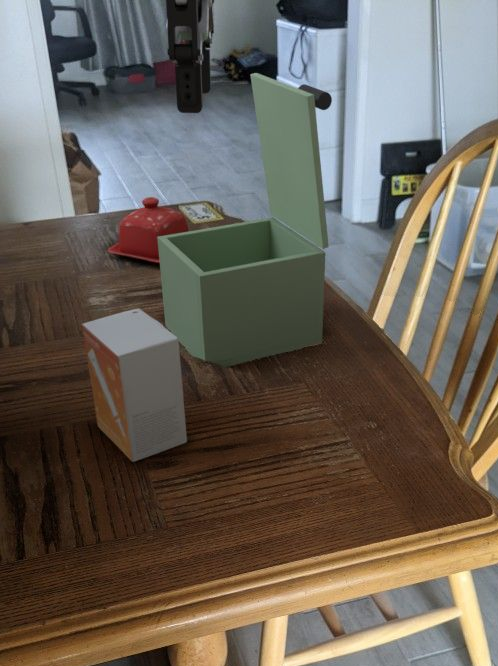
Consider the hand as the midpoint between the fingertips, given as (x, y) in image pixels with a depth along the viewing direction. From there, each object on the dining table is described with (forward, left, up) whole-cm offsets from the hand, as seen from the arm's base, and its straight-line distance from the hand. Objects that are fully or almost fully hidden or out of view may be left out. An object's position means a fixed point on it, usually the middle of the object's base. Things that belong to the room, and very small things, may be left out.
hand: (195, 101), depth 73 cm
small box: (+2, -15, -30) cm, 33 cm away
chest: (-4, +11, -30) cm, 32 cm away
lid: (-1, +17, -9) cm, 19 cm away
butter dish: (-32, +27, -30) cm, 51 cm away
